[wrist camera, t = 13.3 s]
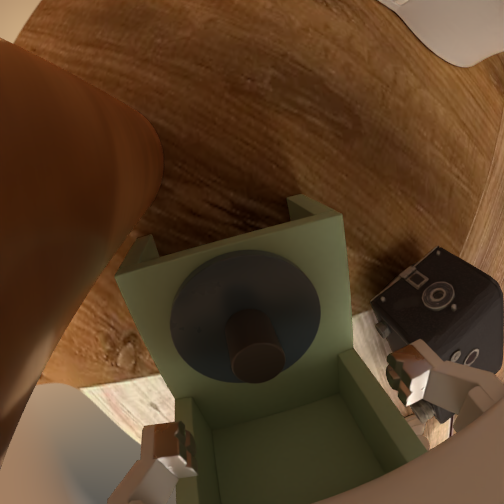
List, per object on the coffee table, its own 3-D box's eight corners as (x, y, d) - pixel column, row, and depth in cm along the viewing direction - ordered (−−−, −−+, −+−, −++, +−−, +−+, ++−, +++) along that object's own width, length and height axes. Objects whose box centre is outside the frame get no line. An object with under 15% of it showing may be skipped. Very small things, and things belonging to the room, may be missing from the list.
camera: (331, 292, 26) (388, 383, 30) (396, 367, 15) (437, 450, 19) (419, 222, 25) (456, 326, 29) (511, 255, 14) (518, 374, 18)
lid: (149, 272, 14) (136, 311, 11) (306, 231, 15) (338, 258, 11) (196, 386, 17) (200, 434, 14) (321, 352, 18) (345, 393, 14)
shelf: (136, 238, 20) (27, 469, 4) (301, 193, 21) (523, 321, 5) (196, 383, 25) (216, 571, 9) (324, 346, 26) (422, 507, 10)
